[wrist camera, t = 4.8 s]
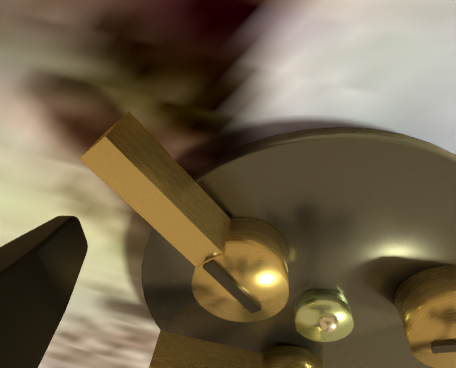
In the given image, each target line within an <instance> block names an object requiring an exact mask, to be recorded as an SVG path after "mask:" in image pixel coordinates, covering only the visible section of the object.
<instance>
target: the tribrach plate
mask: <svg viewBox="0 0 456 368" xmlns="http://www.w3.org/2000/svg"><path fill="white" fill-rule="evenodd" d="M191 178H192V179H193V180H194V181H195V182H196V183H197V184H198V185H199V186H200V187H201V188H202V189H203V190H204V191H205V193H206V194H207V195H208V196H209V197H210V198H211V199H212V200H213V201H214V202H215V203H216V204H217V205H218V206H219V207H220V208H221V209H222V211H223V212H224V213H225V214H226V215H227V216H228V217H229V218H232V217H250V218H255V219H258V220H262V221H264V222H266V223H268V224H270V225H271V226H273V227H274V228H275V229H276V230H277V231H278V232H280V234H281V235H282V236H283V238H284V240H285V242H286V245H287V257H288V282H289V297H288V300H287V303H286V305H285V306H284V307H283V309H282V310H281V311H279V312H278V313H277V314H275V315H274V316H272V317H270V318H267V319H264V320H261V321H255V322H236V321H230V320H226V319H223V318H220V317H218V316H216V315H214V314H212V313H210V312H209V311H207V310H206V309H204V308H203V307H202V306H201V305H200V304H199V303H198V301H197V300H196V298H195V297H194V294H193V292H192V279H193V275H194V271H195V267H196V266H194V265H193V264H192V263H191V262H190V261H189V260H188V259H187V258H186V257H185V256H184V255H183V254H182V253H180V252H179V251H178V250H177V249H176V248H175V247H174V246H173V245H172V244H171V243H170V242H169V241H168V240H166V239H165V238H164V237H163V236H162V235H161V234H160V233H159V232H158V231H157V230H156V229H155V228H154V229H153V231H152V234H151V236H150V239H149V241H148V244H147V246H146V249H145V253H144V258H143V263H142V285H143V291H144V296H145V300H146V302H147V305H148V308H149V311H150V313H151V315H152V317H153V318H154V320H155V322H156V324H157V325H158V327H159V328H160V330H161V331H165V332H170V333H174V334H178V335H183V336H187V337H191V338H196V339H200V340H205V341H209V342H213V343H218V344H222V345H226V346H231V347H235V348H239V349H244V350H248V351H252V352H257V353H262V352H264V351H265V350H267V349H270V348H273V347H277V346H297V347H302V348H305V349H308V350H310V351H312V352H314V353H316V354H317V355H318V356H319V357H320V358H321V359H322V360H323V362H324V367H325V368H434V367H431V366H428V365H426V364H424V363H422V362H421V361H419V360H418V359H417V358H416V357H415V356H414V355H413V353H412V351H411V348H410V345H409V342H408V340H407V337H406V334H405V331H404V328H403V325H402V322H401V319H400V317H399V314H398V311H397V308H396V305H395V294H396V291H397V289H398V288H399V286H400V285H401V284H402V283H403V282H404V281H405V280H407V279H408V278H409V277H411V276H413V275H414V274H416V273H419V272H421V271H424V270H427V269H430V268H435V267H443V266H455V267H456V155H455V154H452V153H450V152H448V151H446V150H444V149H442V148H440V147H438V146H435V145H433V144H431V143H428V142H425V141H421V140H418V139H415V138H412V137H409V136H405V135H402V134H396V133H391V132H385V131H379V130H374V129H360V128H341V127H337V128H322V129H307V130H302V131H296V132H291V133H285V134H280V135H275V136H272V137H269V138H266V139H263V140H259V141H256V142H253V143H250V144H247V145H245V146H243V147H241V148H238V149H236V150H234V151H232V152H230V153H227V154H225V155H223V156H221V157H220V158H218V159H217V160H215V161H213V162H212V163H210V164H209V165H207V166H205V167H204V168H202V169H201V170H200V171H198V172H197V173H196V174H195V175H194V176H192V177H191Z"/></svg>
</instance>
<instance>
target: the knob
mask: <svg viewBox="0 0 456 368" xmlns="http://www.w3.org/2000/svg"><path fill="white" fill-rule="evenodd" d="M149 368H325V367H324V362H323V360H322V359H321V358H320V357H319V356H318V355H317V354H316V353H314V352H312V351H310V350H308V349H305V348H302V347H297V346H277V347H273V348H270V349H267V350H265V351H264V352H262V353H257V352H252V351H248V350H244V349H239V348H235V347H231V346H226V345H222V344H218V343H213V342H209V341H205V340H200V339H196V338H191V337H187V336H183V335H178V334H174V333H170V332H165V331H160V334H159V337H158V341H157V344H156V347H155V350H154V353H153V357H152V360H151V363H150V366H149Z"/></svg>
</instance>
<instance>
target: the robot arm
mask: <svg viewBox="0 0 456 368" xmlns="http://www.w3.org/2000/svg"><path fill="white" fill-rule="evenodd" d="M87 248H88V245H87V240H86V238H85V235H84V232H83V229H82V227H81V224H80V221H79V219H78V218H77V217H75V216H57V217H55V218H53V219H52V220H50V221H48V222H46V223H44V224H42V225H40V226H39V227H37V228H35V229H33V230H31V231H29V232H27V233H26V234H24V235H22V236H20V237H18V238H16V239H15V240H13V241H11V242H9V243H7V244H5V245H3V246H2V247H0V368H38V366H39V364H40V362H41V360H42V358H43V356H44V354H45V352H46V350H47V348H48V346H49V344H50V342H51V339H52V337H53V335H54V333H55V331H56V329H57V327H58V325H59V323H60V321H61V319H62V317H63V314H64V312H65V310H66V307H67V305H68V302H69V300H70V297H71V294H72V292H73V289H74V286H75V283H76V281H77V278H78V275H79V272H80V270H81V267H82V264H83V261H84V259H85V256H86V253H87Z"/></svg>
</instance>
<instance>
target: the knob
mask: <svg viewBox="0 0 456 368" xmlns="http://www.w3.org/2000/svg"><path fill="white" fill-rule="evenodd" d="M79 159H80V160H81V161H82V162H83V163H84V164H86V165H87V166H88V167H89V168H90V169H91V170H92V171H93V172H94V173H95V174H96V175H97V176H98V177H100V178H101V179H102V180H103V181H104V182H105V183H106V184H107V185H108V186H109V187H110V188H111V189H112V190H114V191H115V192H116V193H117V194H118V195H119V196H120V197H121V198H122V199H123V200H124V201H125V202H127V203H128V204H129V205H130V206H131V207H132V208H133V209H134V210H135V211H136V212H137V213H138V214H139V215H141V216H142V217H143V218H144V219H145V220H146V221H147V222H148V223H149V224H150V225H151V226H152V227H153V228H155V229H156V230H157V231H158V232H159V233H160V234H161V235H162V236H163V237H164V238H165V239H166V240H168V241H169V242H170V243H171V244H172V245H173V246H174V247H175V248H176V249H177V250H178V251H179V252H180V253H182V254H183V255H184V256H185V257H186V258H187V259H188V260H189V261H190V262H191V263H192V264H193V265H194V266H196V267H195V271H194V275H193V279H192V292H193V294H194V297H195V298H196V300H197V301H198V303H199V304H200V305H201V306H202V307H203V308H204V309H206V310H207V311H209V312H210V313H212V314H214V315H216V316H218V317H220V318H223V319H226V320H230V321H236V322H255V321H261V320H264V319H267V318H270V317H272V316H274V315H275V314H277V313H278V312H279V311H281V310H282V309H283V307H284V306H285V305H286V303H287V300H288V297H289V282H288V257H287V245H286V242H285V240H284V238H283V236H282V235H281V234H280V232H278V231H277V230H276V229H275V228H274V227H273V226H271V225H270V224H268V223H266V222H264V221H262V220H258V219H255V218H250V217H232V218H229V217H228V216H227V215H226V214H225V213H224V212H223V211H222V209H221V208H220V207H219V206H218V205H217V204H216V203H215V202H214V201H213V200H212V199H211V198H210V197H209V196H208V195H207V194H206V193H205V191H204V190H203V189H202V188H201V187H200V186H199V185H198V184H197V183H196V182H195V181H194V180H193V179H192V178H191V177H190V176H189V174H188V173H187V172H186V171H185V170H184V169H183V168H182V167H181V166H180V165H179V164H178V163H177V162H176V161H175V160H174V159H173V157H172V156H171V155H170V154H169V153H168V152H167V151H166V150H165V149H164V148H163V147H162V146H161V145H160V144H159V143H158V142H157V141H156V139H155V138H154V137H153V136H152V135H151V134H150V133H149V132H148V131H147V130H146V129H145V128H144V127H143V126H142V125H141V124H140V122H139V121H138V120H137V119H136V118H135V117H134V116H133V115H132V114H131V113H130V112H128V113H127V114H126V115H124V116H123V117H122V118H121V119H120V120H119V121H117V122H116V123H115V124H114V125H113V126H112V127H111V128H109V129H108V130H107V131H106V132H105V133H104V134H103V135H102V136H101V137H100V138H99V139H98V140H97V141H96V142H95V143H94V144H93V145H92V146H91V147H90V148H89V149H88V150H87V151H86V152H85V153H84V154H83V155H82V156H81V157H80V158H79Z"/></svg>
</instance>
